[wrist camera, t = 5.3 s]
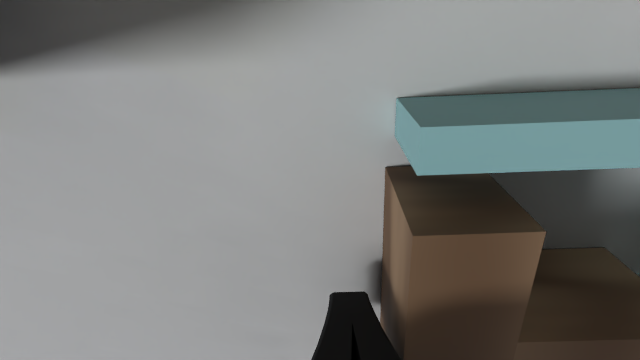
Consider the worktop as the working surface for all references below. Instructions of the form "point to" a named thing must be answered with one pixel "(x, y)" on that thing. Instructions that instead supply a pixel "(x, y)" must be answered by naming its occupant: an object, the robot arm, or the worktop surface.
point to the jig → (520, 131)
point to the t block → (494, 279)
